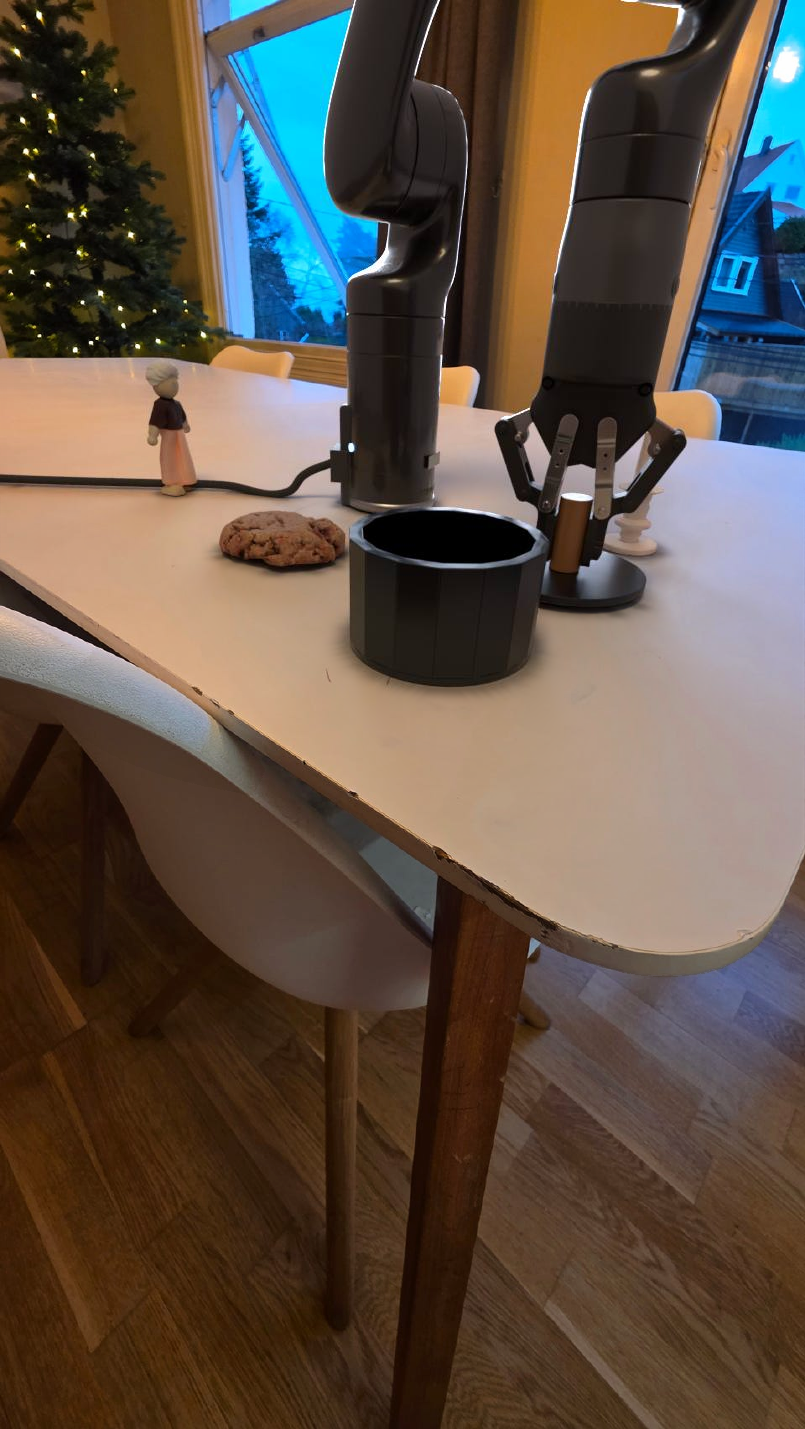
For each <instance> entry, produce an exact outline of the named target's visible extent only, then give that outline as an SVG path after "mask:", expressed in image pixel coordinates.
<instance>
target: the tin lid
mask: <svg viewBox="0 0 805 1429" xmlns="http://www.w3.org/2000/svg"><path fill="white" fill-rule="evenodd" d="M593 506H594V497H593V496H591V495H587V494H584V493H578V492H566V493H562V494H561V495H560V497H559V504H558V508H559V509H558V515H557V521H556V527H555V533H554V539H553V544H552V550H551V556H550V560H549V562H547V561H546V567H545V573H544V579H543V585H542V590H541V596H540V602H539V603H546V604H552V605H559V606H567V607H578V608H579V607H582V608H596V607H609V606H617V605H621V604H625V603H628V602H631V601H633V600H635V599H638V598H639V597H640V596H641V595H642V594H643V593H644V592H645V589H646V586H647V576H646V573H645V572H644V571H643V570H642V569H641V568H640V567H639V566H638V565H636V564H634V563H633V562H632V561H629V560H627V559H625V558H623V557H620V556H618V555H615V554H612V553H610V552H608V551H603V550H602V555H601V556H600V558H599V559H598V561H596V560H591V562H590V566H589V567H584V566H580V564H581V559H582V554H583V549H584V544H585V539H586V533H587V528H588V523H589V518H590V515H591V512H592V508H593Z"/></svg>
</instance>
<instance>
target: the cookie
mask: <svg viewBox="0 0 805 1429" xmlns="http://www.w3.org/2000/svg"><path fill="white" fill-rule="evenodd" d="M218 545H219V547H220V551H221V552H222V553H225V554H229V555H231V556H232V557H233V556H234V557H236V558H237V557H238V558H239V559H243V560H244V561H245V560H249V559H262V560H263V561H264V563H266V564H267V565H270V566H271V565H272V566H277V567H286V566H291V565H292V566H293V565H299V564H301V565H303V564H305V565H306V564H309V565H310V564H319V563H321V564H323V563H328V562H329V561H332V562H334V561H335V559H336V558H337V557H339V556H340V555H342V553H343V552H344V549H345V547H346V532H345V531H344V530H343V528H341V527H340V526H339V525H337V524H336V523H335V522H334V521H332V520H331V519H329V518H327V517H321V518H317V519H315V518H314V516H309V517H308V516H304V515H302V514H301V513H299V512H296V511H287V510H286V511H285V510H284V511H283V510H265V511H255V512H254V511H253V512H249V513H247V514H244V515H242V516H238V517H237V518H234V519H233V520H231V521H229V522H228V523H226V524H225V525H224V526H223V528H222V530H221V532H220V536H219V540H218Z"/></svg>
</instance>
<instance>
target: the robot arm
mask: <svg viewBox="0 0 805 1429" xmlns="http://www.w3.org/2000/svg"><path fill="white" fill-rule="evenodd" d="M622 1H624V2H630V3H631V2H632V3H633V2H635V3H642V4H647V5H654V6H661V7H669V8H674V9H676V8H678V14H677V15H678V16H677V20H676V24H675V29H674V31H673V33H672V36H671V38H670V40H669V42H668V45H667V47H666V49H665V50H664V52H663V53H661V54H656V55H651V56H646V57H640V58H635V59H631V60H628V61H625V62H621V63H618V64H616V65H613V66H611V67H609V68H607V69H606V70H605V71H603V72H602V73H600V74H598V76H597V77H596V78H595V80H594V81H593V83H592V84H591V86H590V88H589V90H588V91H587V95H586V98H585V101H584V102H585V103H584V105H583V111H582V114H581V115H582V116H581V122H580V128H579V135H578V143H577V150H576V157H575V162H574V171H573V178H572V185H571V192H570V199H569V205H570V206H569V207H568V212H567V218H566V222H565V226H564V230H563V234H562V238H561V242H560V247H559V251H558V256H557V257H558V258H557V264H556V271H555V273H554V276H553V280H552V289H551V292H552V299H551V307H550V314H549V323H548V329H547V335H546V336H547V337H546V343H545V349H544V359H543V366H542V372H541V380H540V385H539V387H538V391H537V393H536V394H535V396H534V397H533V398H532V400H531V403H530V405H529V408H527V409H525V410H522V411H520V412H517V413H515V414H513V415H506V416H503V417H502V418H500V419H499V420H498V421H497V422H496V423H495V425H494V429H493V430H494V434H495V438H496V440H497V443H498V447H499V449H500V453H501V455H502V459H503V462H504V466H505V467H506V471H507V473H508V477H509V480H510V483H511V486H512V489H513V492H514V495H515V498H516V500H518V501H519V502H522V503H525V502H526V503H528V504H530V505H532V506H534V508H535V509H536V511H537V518H536V525H535V528H537V529H539V530H540V531H541V532H542V533H543V535H544V536H545V537H546V538H547V539H548V541H549V549H548V555H547V562H549V560H550V556H551V550H552V544H553V539H554V533H555V527H556V521H557V515H558V509H559V507H558V505H559V504H558V502H559V498H560V494H561V490H562V487H563V484H564V480H565V477H566V474H567V471H568V468H569V467H573V466H580V465H583V466H585V467H588V468H591V469H592V470H593V469H594V470H595V472H594V473H595V474H594V475H595V476H594V496H593V511H591V515H590V518H589V523H588V528H587V533H586V539H585V544H584V549H583V554H582V559H581V564H580V566H584V567H589V566H590V562H591V560H596V561H598V559H599V558H600V556H601V555H602V551H603V549H604V548H603V545H604V540H605V536H606V534H607V530H608V526H609V522H610V520H611V519H612V518H614V517H615V516H618V515H623V513H628V514H630V513H633V512H635V511H636V510H637V508H638V507H639V506H640V505H641V503H642V502H643V501H644V500H645V498H646V497H647V496H648V494H649V493H650V492H651V491H652V489H653V488H654V487H655V486H657V485H658V483H659V482H660V480H661V479H662V478H663V477H664V475H665V474H666V473H667V472H668V470H669V469H670V468H671V466H672V465H673V464H674V463H675V461H677V459H678V458H679V456H680V455H681V453H682V452H683V451H684V450H685V449H686V446H687V444H688V441H687V437H686V434H685V431H683V429H681V428H673V427H672V426H670V425H669V424H667V423H665V421H663V420H661V419H660V418H658V417H657V412H658V411H657V405H656V403H655V399H654V394H655V388H656V383H657V380H658V375H659V371H660V366H661V362H662V358H663V353H664V349H665V344H666V339H667V336H668V330H669V326H670V322H671V317H672V313H673V310H674V305H675V300H676V296H677V294H678V293H679V289H680V285H681V284H680V283H681V273H682V269H683V265H684V259H685V254H686V247H687V240H688V230H689V220H690V215H691V210H692V208H691V205H692V204H693V199H694V195H695V191H696V185H697V183H698V182H697V181H698V176H699V172H700V168H701V163H702V159H703V155H704V151H705V150H704V149H705V145H706V141H707V137H708V132H709V131H708V130H709V127H710V122H711V119H712V116H713V113H714V110H715V108H716V105H717V102H718V101H719V100H718V99H719V96H720V95H721V91H722V89H723V87H724V85H725V82H726V80H727V77H728V74H729V72H730V69H731V67H732V65H733V62H734V60H735V57H736V55H737V52H738V49H739V47H740V44H741V42H742V39H743V38H744V35H745V32H746V30H747V28H748V24H749V23H750V20H751V18H752V15H753V13H754V11H755V8H756V6H757V4H758V1H759V0H622ZM439 2H440V0H354V3H353V7H352V10H351V14H350V19H349V21H348V25H347V26H348V27H347V30H346V34H345V37H344V41H343V46H342V49H341V53H340V55H339V56H340V57H339V61H338V65H337V69H336V72H335V77H334V81H333V85H332V89H331V94H330V97H329V98H330V99H329V104H328V109H327V113H326V114H327V115H326V120H325V126H324V127H325V128H324V135H323V136H324V137H323V152H322V154H323V173H324V174H323V175H324V180H325V184H326V189H327V191H328V194H329V196H330V199H331V201H332V203H333V204H334V206H335V207H336V208H337V209H338V210H339V211H340V212H341V213H342V214H345V215H346V216H349V217H352V218H355V219H361V220H365V221H369V222H378V223H385V224H388V230H387V231H388V232H387V240H386V246H385V250H384V252H383V254H382V255H381V257H380V258H379V259H378V260H377V261H376V262H375V263H373V265H371V266H369V267H368V268H366V269H364V270H361V271H359V272H357V273H355V274H353V275H352V276H351V277H350V278H349V279H348V281H347V283H346V287H345V288H346V290H345V305H346V306H345V312H346V316H345V317H346V403H344V404H342V405H340V406H339V441H337V442H336V443H335V444H334V445H333V446H332V448H330V449H329V458H328V459H326V460H323V461H320V462H318V463H313V464H312V465H310V466H308V467H305V468H304V469H303V470H301V471H300V472H298V474H296V476H295V478H294V479H293V480H292V482H291V483H290V485H288V486H287V487H284V488H282V489H275V490H274V489H273V490H271V489H264V488H258V487H255V486H251V485H248V484H243V483H239V482H234V481H229V480H217V479H215V480H214V479H197V483H194V484H191V485H183V487H191V488H195V489H215V490H227V491H233V492H237V493H242V494H246V495H251V496H255V497H256V496H257V497H265V498H272V499H273V498H275V499H283V498H286V497H289V496H292V495H294V494H295V493H297V492H298V491H299V490H300V488H301V486H302V485H303V483H304V482H305V481H306V480H307V479H308V478H310V477H312V476H313V475H315V474H317V473H321V472H324V471H326V470H329V471H330V473H329V474H330V475H329V476H330V483H338V484H339V483H340V504H341V505H344V506H345V505H346V506H350V507H351V508H352V507H353V508H354V509H357V510H360V511H363V512H367V513H368V512H370V513H373V514H375V513H379V512H383V511H386V510H393V509H403V508H414V507H434V503H435V494H434V491H435V472H436V466H437V465H439V464H440V463H441V462H440V461H441V450H439V451H437V443H438V442H437V441H438V428H439V427H438V426H439V413H440V397H441V382H442V381H441V380H442V367H443V366H442V364H443V363H442V362H443V349H444V335H445V334H444V333H445V316H446V305H447V299H448V295H449V292H450V290H451V287H452V284H453V282H454V278H455V274H456V270H457V264H458V255H459V246H460V236H461V229H462V227H461V226H462V217H463V210H464V203H465V202H464V201H465V193H466V181H467V169H468V138H467V128H466V121H465V118H464V114H463V111H462V108H461V106H460V104H459V102H458V101H457V99H456V97H455V96H454V95H453V93H451V92H450V91H448V90H446V89H445V88H443V87H440V86H438V85H435V84H432V83H429V82H426V81H423V80H419V79H416V78H415V77H416V74H417V70H418V67H419V62H420V59H421V55H422V52H423V48H424V45H425V42H426V40H427V36H428V32H429V30H430V27H431V24H432V20H433V18H434V16H435V13H436V11H437V7H438V5H439ZM532 423H533V425H534V427H535V429H536V431H537V432H538V435H539V436H540V438H541V441H542V443H543V445H544V447H545V448H546V450H547V453H548V455H549V457H550V458H549V462H548V465H547V469H546V472H545V476H544V482H543V484H539V483H537V482H536V480H535V476H534V473H533V470H532V467H531V464H530V461H529V457H528V453H527V451H526V448H525V447H526V446H525V445H524V444H526V442H528V440H529V439H530V434H531V433H530V427H531V424H532ZM645 433H649V434H650V436H651V439H650V441H649V443H648V446H647V452H648V455H649V456H650V459H649V460H648V461H647V463H646V464H645V465H644V467H643V468H642V469H641V471H640V472H639V473H638V474H637V476H636V477H635V478H634V477H633V478H634V480H632V481H631V484H630V485H629V486H628V488H627V489H626V490H624V491H622V492H617V493H614V483H615V473H616V463H618V462H619V461H620V460H621V459H622V458H623V457H624V456H625V455H626V454H627V453H628V452H629V451H630V450H631V448H633V446H634V445H636V444H637V443H638V442H639V440H640V439H641V438H642V437H644V436H645ZM0 484H23V485H24V484H25V485H27V484H28V485H49V486H50V485H51V486H54V485H55V486H84V487H87V486H88V487H121V488H122V487H125V488H161V489H162V488H163V487H164V486H165V484H164V483H162V478H136V477H135V478H133V477H132V478H131V477H93V476H91V477H90V476H61V475H31V474H7V473H6V474H3V473H0Z"/></svg>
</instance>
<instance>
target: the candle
mask: <svg viewBox="0 0 805 1429" xmlns="http://www.w3.org/2000/svg"><path fill="white" fill-rule="evenodd" d="M650 439H651V436H650V434H649V433H648V432H646V433H645V434H644V435H643V440H642V444H641V447H640V450H639V455H638V458H637V462H636V466H635V470H634V475H633V478H632V479H633V480H634V478H635V477H636V476H637V474H638V473H639V472H640V471H641V469H642V468H643V467H644V465H645V464H646V463H647V461H648V460H649V459H650V456H649V455H648V452H647V446H648V443H649V441H650ZM633 480H632V481H633ZM632 481H631V482H632ZM631 482H630V481H628V482H622V483H621V482H620V483H619V484H618V488H620V489H621V490H623V491H625V490H626V489H627V488H628V486H629V485H630V484H631ZM664 492H665V489H664V488H663V487H661V486H658V485H655V487H654V488H653V489H652V491H651V492H650V493H649V494H648V496H647V497H646V498H645V500H644V501H643V502H642V503H641V505H640V506H639V507H638V508H637V510H636V511H635V512H633V513H630V514H628V513H622V514H621V515H619V516H618V515H617V516H616V517H615V519H614V524H615V525H616V526H617V527H619V528H620V529H619V530H618V532H608V533H606V536H605V540H604V545H603V549H604V550H606V551H609V552H611V553H616V554H619V555H625V556H634V557H635V556H637V557H638V556H639V557H641V556H642V557H643V556H649V555H653V554H654V553H656V551H657V549H658V544H657V542H656V541H655V540H653V539H651V538H649V537H647V536H644V535H642V534H643V532H642V531H646V530H650V528H651V526H652V522H651V520H649V519H648V518H647V515H648V514H649V511H650V508H651V505H650V502H651V501H652V499H653V496H655V495H659V494H663V493H664Z"/></svg>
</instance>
